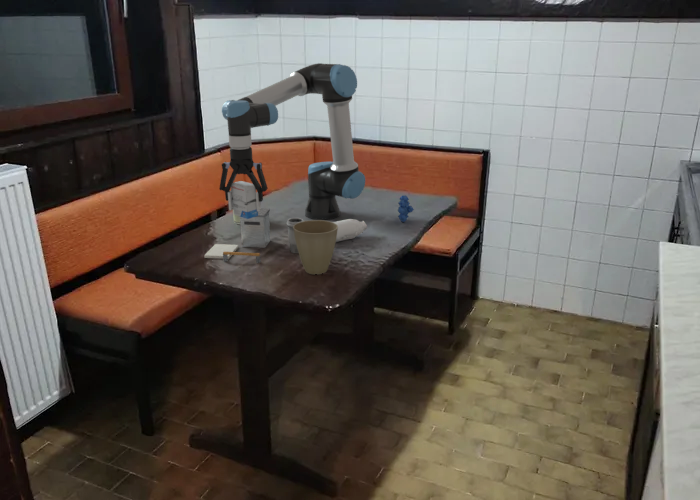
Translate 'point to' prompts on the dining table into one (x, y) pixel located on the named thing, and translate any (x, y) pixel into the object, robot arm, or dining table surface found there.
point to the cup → (291, 235)
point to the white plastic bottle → (349, 229)
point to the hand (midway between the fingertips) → (245, 209)
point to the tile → (220, 251)
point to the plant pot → (315, 244)
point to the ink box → (244, 199)
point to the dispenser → (253, 234)
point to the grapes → (404, 208)
